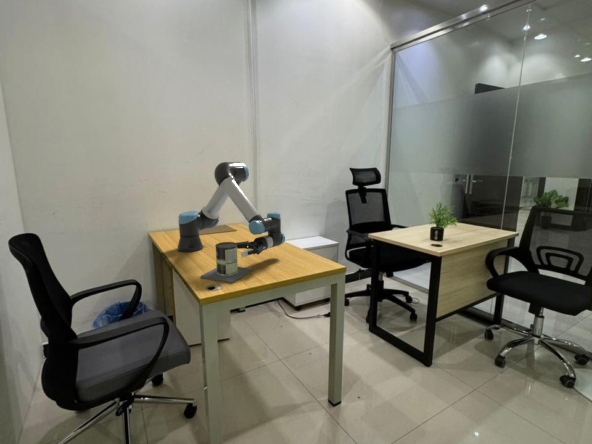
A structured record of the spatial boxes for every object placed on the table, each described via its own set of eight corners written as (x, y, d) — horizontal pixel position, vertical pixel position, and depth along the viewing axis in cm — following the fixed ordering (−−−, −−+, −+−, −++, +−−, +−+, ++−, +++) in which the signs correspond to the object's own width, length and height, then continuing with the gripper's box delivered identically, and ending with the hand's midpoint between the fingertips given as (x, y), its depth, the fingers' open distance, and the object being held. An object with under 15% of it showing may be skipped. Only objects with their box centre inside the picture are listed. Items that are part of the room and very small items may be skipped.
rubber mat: (200, 277, 149) (200, 275, 148) (223, 266, 165) (222, 264, 165) (232, 283, 142) (232, 281, 142) (252, 270, 158) (252, 269, 158)
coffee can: (215, 276, 148) (213, 247, 145) (218, 269, 158) (217, 242, 155) (237, 275, 148) (236, 247, 146) (239, 268, 159) (238, 241, 156)
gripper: (280, 253, 164) (250, 264, 147) (247, 246, 179) (217, 254, 162) (279, 240, 162) (250, 249, 146) (246, 233, 177) (216, 240, 161)
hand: (232, 252), depth 154 cm, fingers open, 13 cm apart
